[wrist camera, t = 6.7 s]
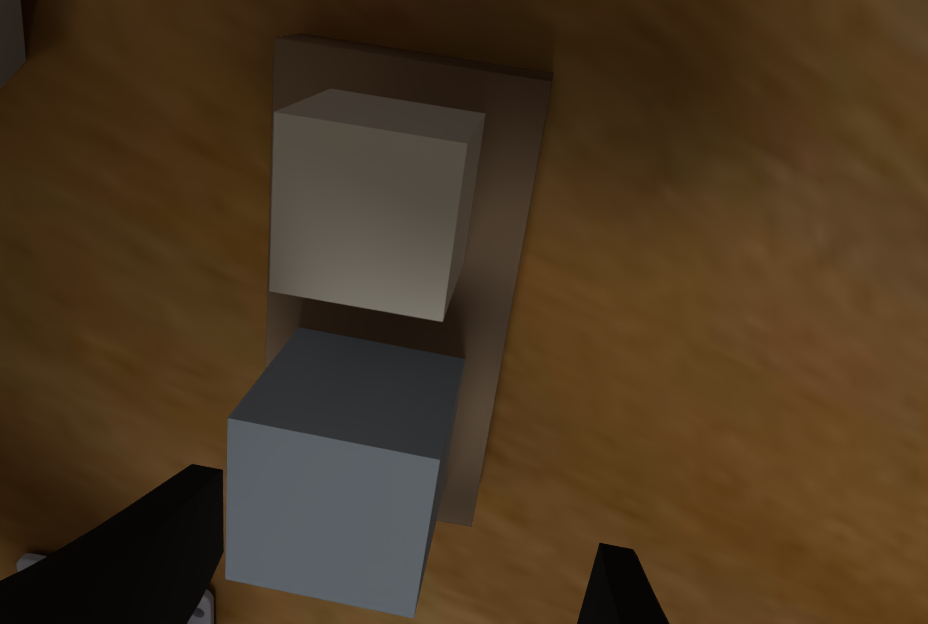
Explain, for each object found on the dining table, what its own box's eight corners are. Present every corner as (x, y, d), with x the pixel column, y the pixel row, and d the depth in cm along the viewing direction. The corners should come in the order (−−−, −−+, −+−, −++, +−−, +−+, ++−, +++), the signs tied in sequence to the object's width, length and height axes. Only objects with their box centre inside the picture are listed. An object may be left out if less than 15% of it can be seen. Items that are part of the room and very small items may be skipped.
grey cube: (442, 495, 23) (413, 618, 19) (290, 464, 23) (225, 579, 19) (465, 359, 21) (440, 459, 16) (298, 327, 21) (227, 418, 17)
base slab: (477, 488, 25) (471, 527, 23) (283, 451, 26) (262, 487, 24) (552, 73, 19) (552, 81, 18) (300, 33, 20) (274, 37, 18)
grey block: (464, 261, 20) (442, 321, 16) (321, 237, 20) (269, 291, 16) (485, 113, 18) (467, 143, 14) (330, 88, 18) (273, 111, 15)
